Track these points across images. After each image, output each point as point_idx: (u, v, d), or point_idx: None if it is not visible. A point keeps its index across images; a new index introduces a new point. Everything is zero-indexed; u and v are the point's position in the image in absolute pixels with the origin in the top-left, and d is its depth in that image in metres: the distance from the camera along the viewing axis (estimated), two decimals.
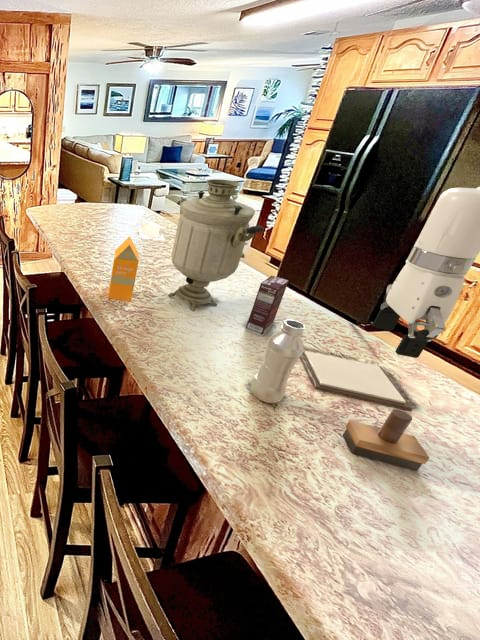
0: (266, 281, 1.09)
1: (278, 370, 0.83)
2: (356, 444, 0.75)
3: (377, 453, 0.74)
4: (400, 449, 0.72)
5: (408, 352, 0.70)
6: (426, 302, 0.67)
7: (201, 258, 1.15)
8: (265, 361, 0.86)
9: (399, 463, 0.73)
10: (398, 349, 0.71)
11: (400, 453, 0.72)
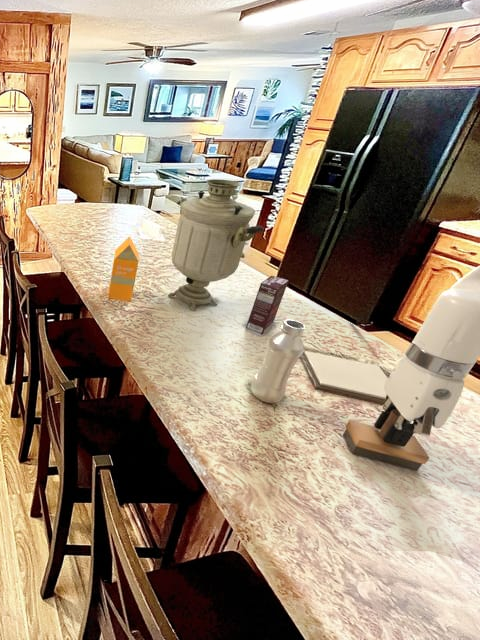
0: (266, 281, 1.09)
1: (278, 370, 0.83)
2: (356, 444, 0.75)
3: (377, 453, 0.74)
4: (400, 449, 0.72)
5: (395, 441, 0.71)
6: (424, 402, 0.65)
7: (201, 258, 1.15)
8: (265, 361, 0.86)
9: (399, 463, 0.73)
10: (385, 437, 0.73)
11: (400, 453, 0.72)
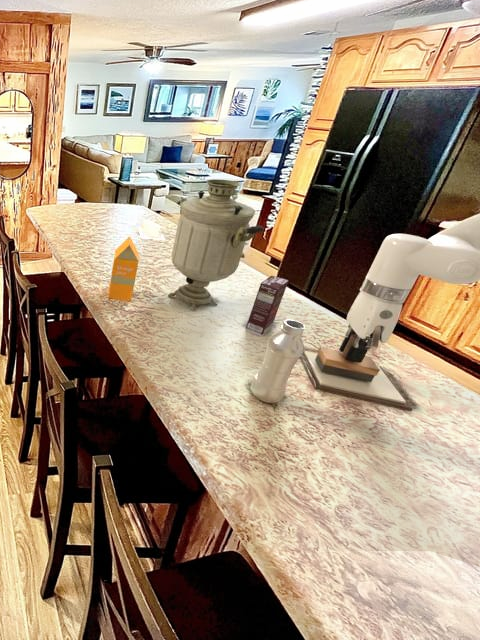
0: (266, 281, 1.09)
1: (278, 370, 0.83)
2: (324, 363, 0.94)
3: (340, 369, 0.94)
4: (358, 364, 0.92)
5: (353, 358, 0.91)
6: (373, 322, 0.85)
7: (201, 258, 1.15)
8: (265, 361, 0.86)
9: (357, 376, 0.93)
10: (346, 356, 0.92)
11: (357, 368, 0.92)
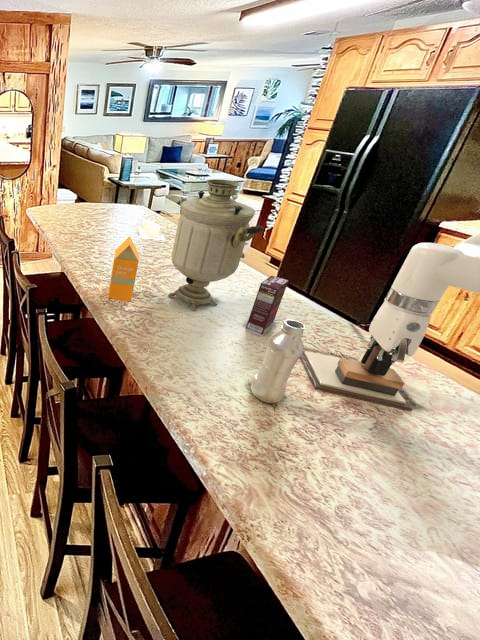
0: (266, 281, 1.09)
1: (278, 370, 0.83)
2: (345, 375, 0.91)
3: (362, 382, 0.90)
4: (381, 377, 0.88)
5: (377, 371, 0.88)
6: (400, 334, 0.82)
7: (201, 258, 1.15)
8: (265, 361, 0.86)
9: (380, 390, 0.89)
10: (369, 368, 0.89)
11: (381, 381, 0.88)
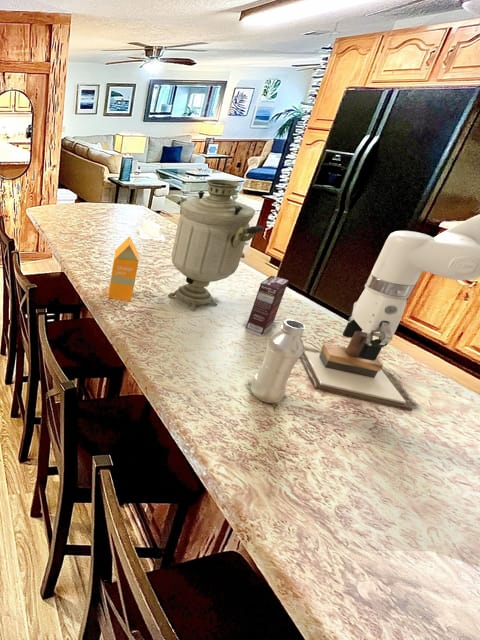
0: (266, 281, 1.09)
1: (278, 370, 0.83)
2: (328, 359, 0.96)
3: (344, 365, 0.96)
4: (361, 360, 0.94)
5: (367, 356, 0.90)
6: (379, 317, 0.87)
7: (201, 258, 1.15)
8: (265, 361, 0.86)
9: (360, 372, 0.95)
10: (359, 354, 0.91)
11: (361, 364, 0.94)
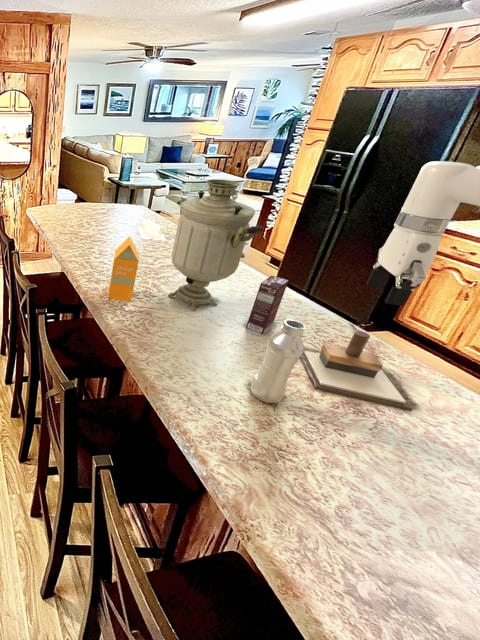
0: (266, 281, 1.09)
1: (278, 370, 0.83)
2: (328, 359, 0.96)
3: (344, 365, 0.96)
4: (361, 360, 0.94)
5: (395, 301, 0.83)
6: (410, 257, 0.80)
7: (201, 258, 1.15)
8: (265, 361, 0.86)
9: (360, 372, 0.95)
10: (387, 299, 0.85)
11: (361, 364, 0.94)
